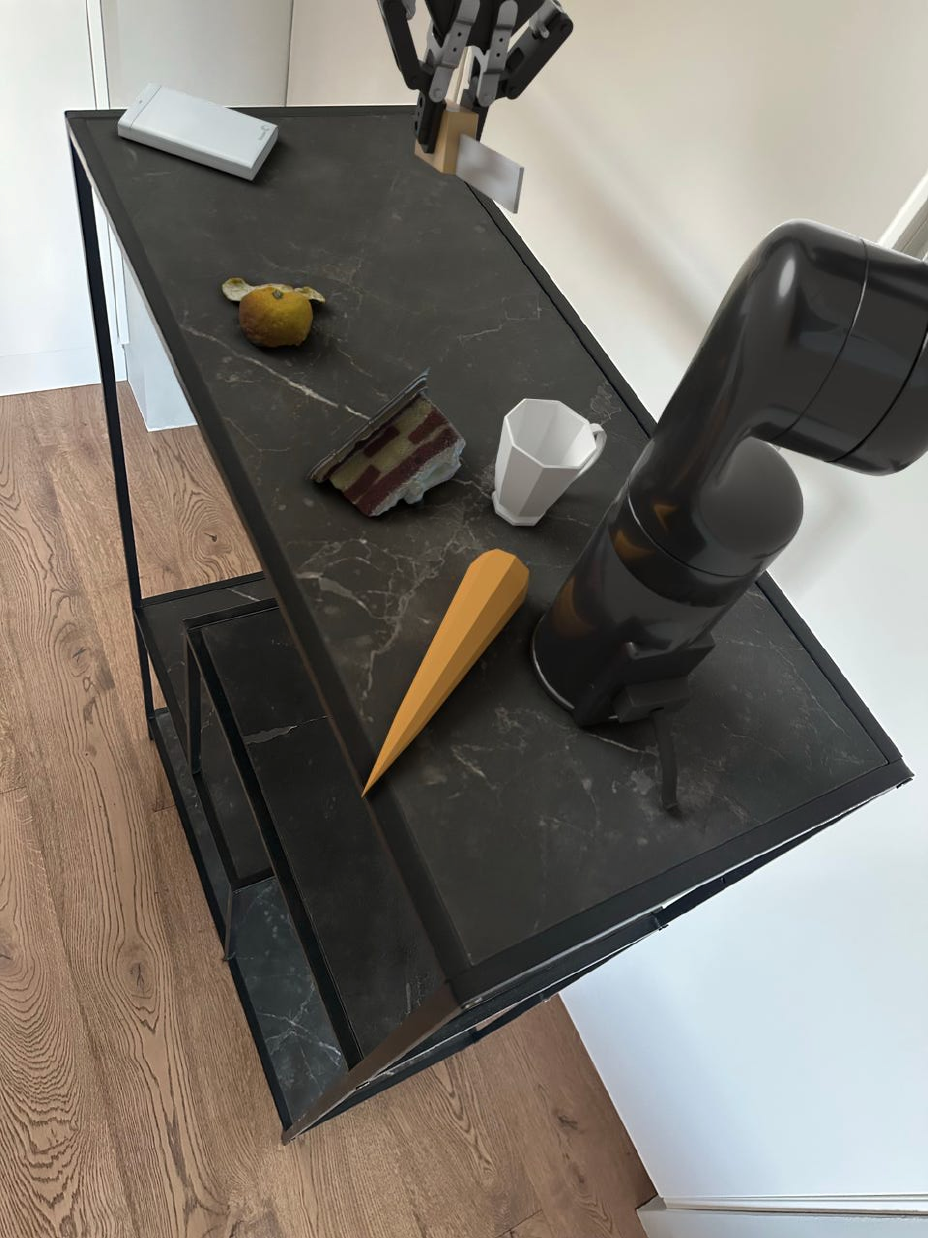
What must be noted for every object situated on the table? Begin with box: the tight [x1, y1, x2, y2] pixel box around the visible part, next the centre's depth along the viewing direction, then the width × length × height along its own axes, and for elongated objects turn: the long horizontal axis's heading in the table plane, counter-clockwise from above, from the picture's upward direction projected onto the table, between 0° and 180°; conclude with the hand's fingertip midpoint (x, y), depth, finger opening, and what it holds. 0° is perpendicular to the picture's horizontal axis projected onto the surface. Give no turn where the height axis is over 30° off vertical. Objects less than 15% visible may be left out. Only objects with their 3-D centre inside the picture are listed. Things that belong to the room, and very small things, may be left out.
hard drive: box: [117, 81, 279, 181], centre depth 84 cm, size 2×8×12 cm
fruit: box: [221, 277, 326, 348], centre depth 73 cm, size 8×8×4 cm
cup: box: [491, 398, 608, 527], centre depth 67 cm, size 7×10×8 cm
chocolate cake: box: [305, 365, 467, 517], centre depth 67 cm, size 10×7×12 cm
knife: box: [414, 97, 525, 215], centre depth 60 cm, size 16×2×4 cm, turn 18°
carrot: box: [361, 548, 530, 797], centre depth 59 cm, size 20×4×4 cm
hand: (442, 147), depth 64 cm, fingers closed on knife, 2 cm apart
